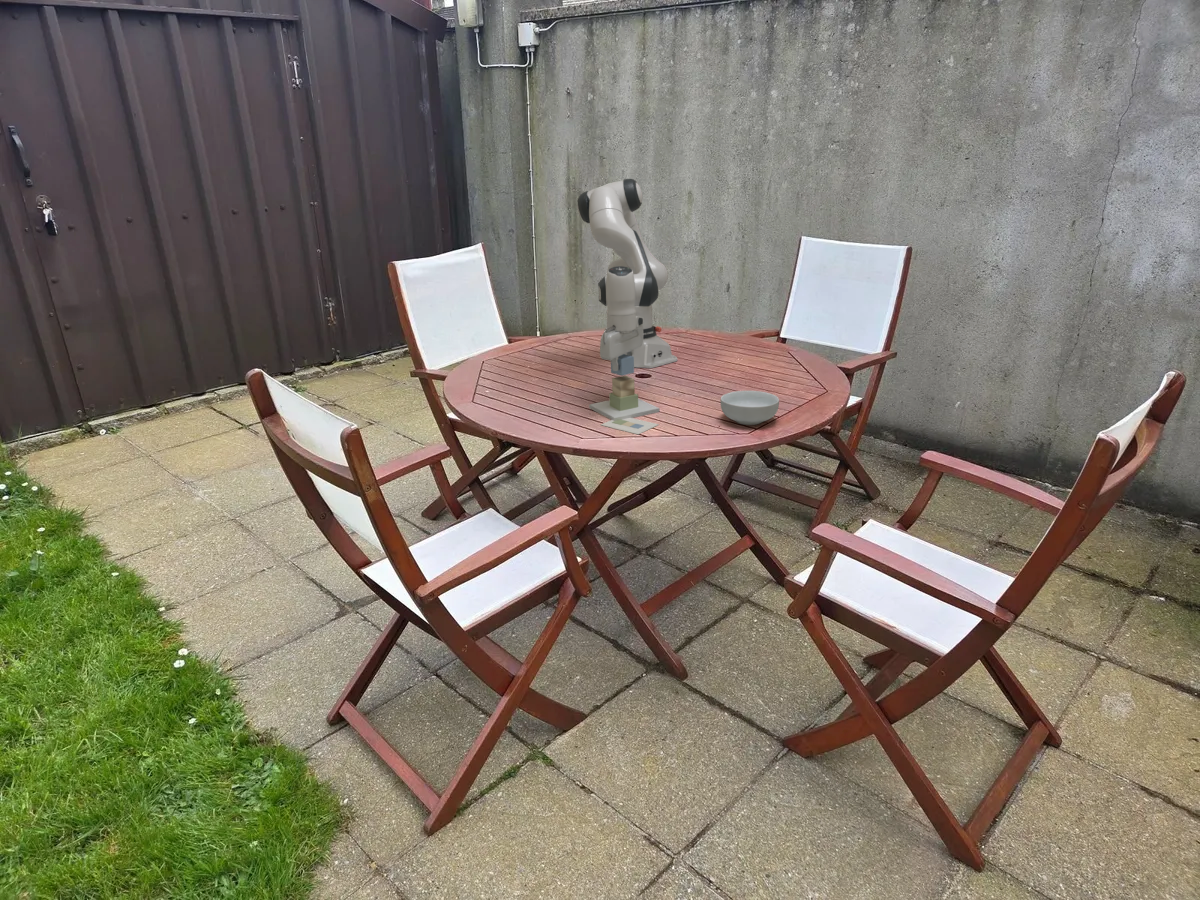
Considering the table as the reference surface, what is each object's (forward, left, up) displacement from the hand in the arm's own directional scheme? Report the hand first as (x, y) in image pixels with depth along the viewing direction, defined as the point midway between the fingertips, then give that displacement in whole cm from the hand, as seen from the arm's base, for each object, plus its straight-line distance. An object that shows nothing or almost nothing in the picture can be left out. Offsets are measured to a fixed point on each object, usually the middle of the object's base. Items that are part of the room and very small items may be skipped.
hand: (622, 367), depth 229 cm
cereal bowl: (-25, +30, -14) cm, 42 cm away
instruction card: (+6, +13, -14) cm, 20 cm away
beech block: (0, 0, -9) cm, 9 cm away
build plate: (0, 0, -14) cm, 14 cm away
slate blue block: (0, 0, -2) cm, 2 cm away
